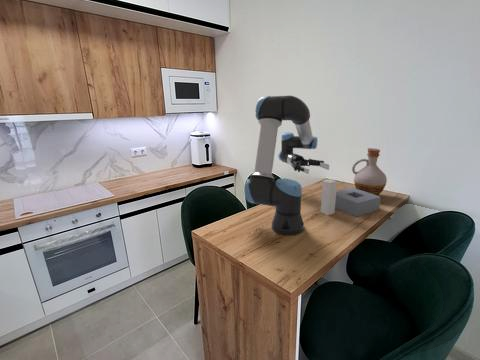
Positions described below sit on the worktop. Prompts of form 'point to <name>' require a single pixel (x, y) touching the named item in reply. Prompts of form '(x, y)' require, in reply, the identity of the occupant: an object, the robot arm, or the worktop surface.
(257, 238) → the worktop surface
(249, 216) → the worktop surface
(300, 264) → the worktop surface
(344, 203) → the well block
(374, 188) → the jug
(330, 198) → the post
